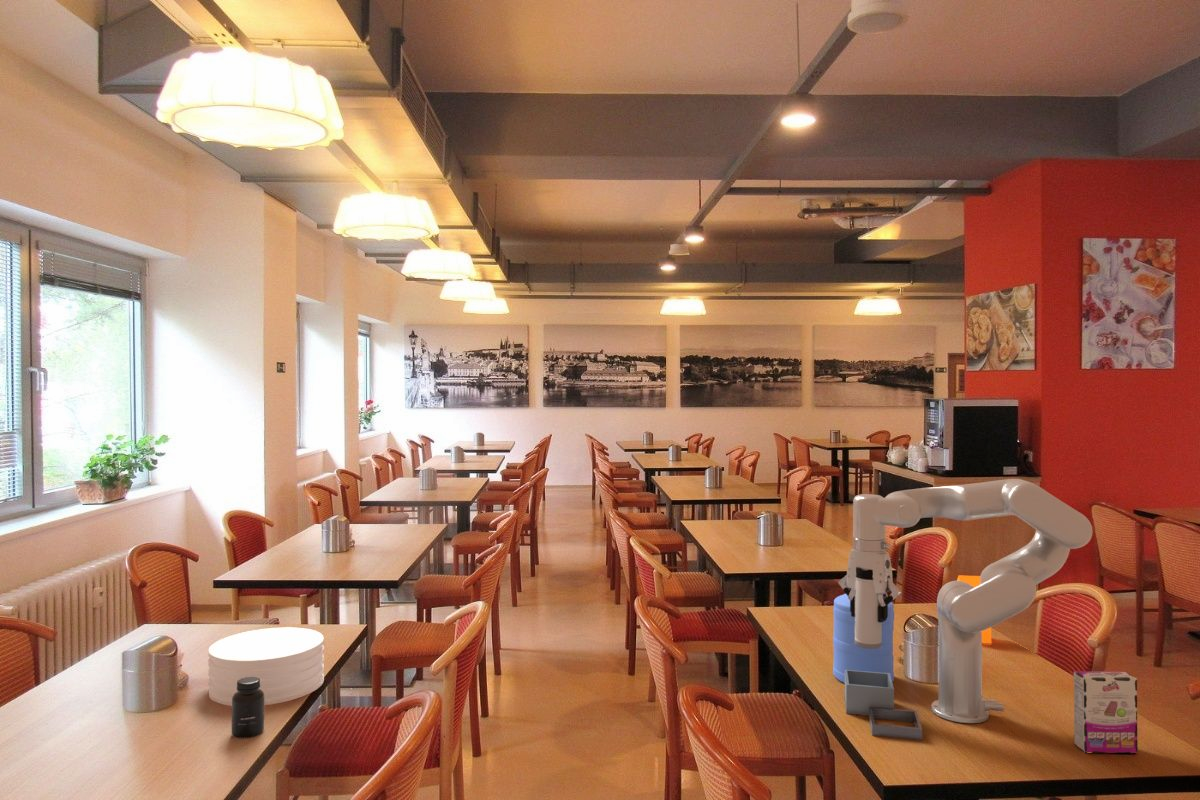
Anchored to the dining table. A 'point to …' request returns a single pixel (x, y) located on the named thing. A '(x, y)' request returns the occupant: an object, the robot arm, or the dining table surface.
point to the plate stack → (267, 663)
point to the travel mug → (866, 611)
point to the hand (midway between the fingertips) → (868, 617)
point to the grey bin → (867, 691)
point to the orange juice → (975, 582)
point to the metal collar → (892, 730)
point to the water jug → (853, 655)
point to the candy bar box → (1105, 711)
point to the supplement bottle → (248, 708)
